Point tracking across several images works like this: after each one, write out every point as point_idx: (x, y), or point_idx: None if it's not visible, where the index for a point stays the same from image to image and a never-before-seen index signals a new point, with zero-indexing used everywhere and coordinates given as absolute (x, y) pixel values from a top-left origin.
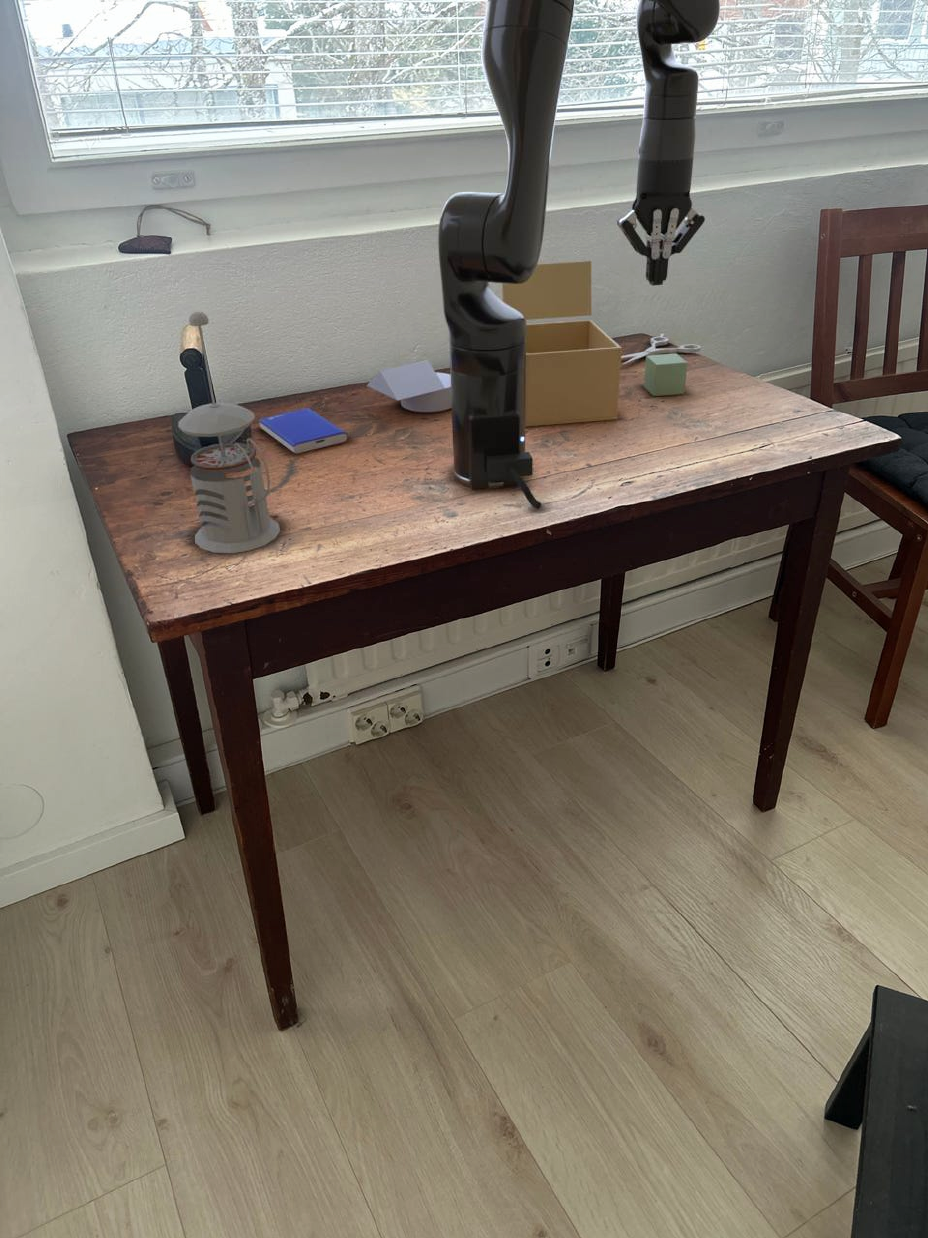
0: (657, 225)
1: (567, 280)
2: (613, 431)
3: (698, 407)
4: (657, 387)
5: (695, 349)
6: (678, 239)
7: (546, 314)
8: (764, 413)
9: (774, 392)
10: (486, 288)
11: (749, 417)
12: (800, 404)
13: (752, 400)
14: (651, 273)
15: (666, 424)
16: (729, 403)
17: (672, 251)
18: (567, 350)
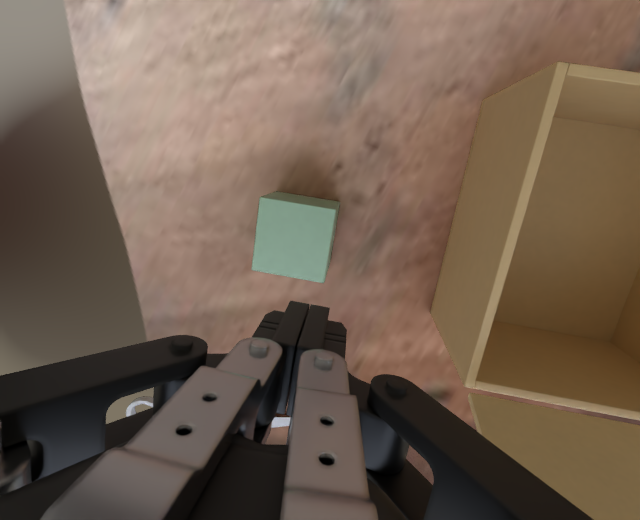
0: (322, 465)
1: (599, 509)
2: (530, 30)
3: (288, 104)
4: (332, 202)
5: (142, 399)
6: (135, 433)
7: (618, 428)
8: (181, 16)
9: (105, 129)
10: None
11: (221, 4)
12: (89, 41)
13: (167, 101)
14: (333, 336)
15: (402, 29)
16: (218, 102)
17: (214, 361)
18: (507, 352)
